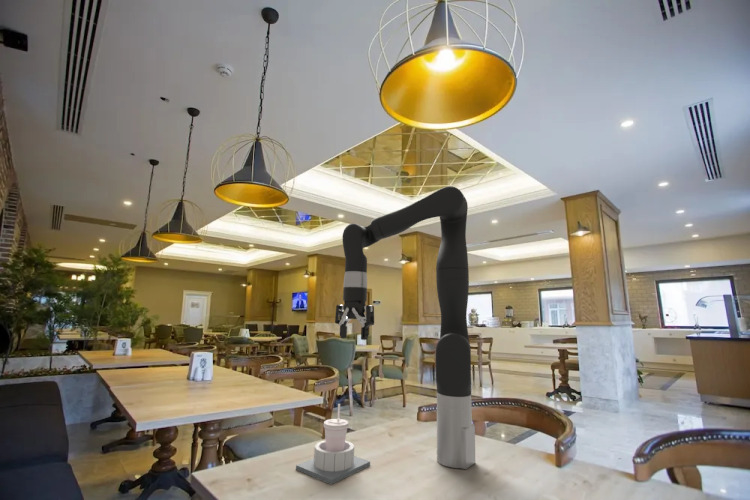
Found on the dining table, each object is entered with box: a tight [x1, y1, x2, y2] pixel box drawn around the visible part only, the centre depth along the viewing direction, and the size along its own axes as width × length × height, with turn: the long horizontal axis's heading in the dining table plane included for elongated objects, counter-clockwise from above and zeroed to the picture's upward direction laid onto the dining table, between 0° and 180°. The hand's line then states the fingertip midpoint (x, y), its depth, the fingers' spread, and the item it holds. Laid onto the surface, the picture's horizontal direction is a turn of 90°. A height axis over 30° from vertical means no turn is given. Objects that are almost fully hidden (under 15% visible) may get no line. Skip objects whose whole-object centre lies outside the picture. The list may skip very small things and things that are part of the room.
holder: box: [295, 440, 371, 485], centre depth 92 cm, size 12×14×5 cm
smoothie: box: [323, 403, 350, 452], centre depth 93 cm, size 6×6×14 cm
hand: (353, 338), depth 115 cm, fingers open, 8 cm apart
